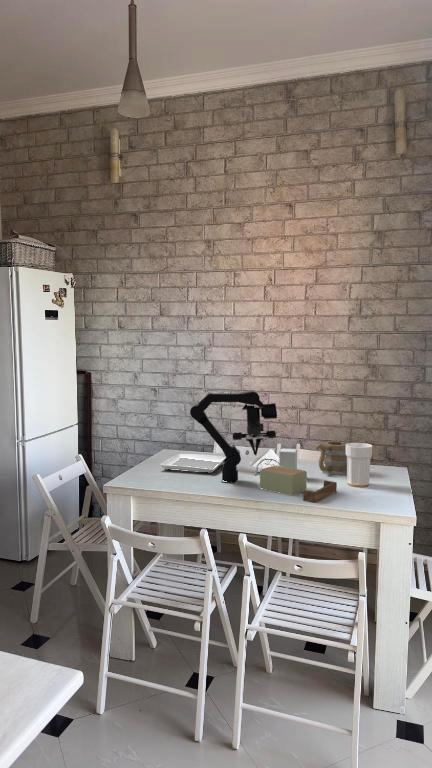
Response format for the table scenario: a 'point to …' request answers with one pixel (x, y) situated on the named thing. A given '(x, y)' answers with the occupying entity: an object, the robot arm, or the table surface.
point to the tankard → (333, 458)
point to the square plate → (169, 462)
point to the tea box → (283, 479)
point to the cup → (358, 464)
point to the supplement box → (288, 458)
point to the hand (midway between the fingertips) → (255, 455)
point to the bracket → (320, 492)
